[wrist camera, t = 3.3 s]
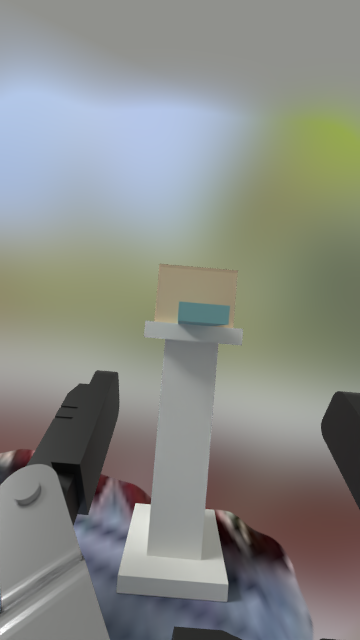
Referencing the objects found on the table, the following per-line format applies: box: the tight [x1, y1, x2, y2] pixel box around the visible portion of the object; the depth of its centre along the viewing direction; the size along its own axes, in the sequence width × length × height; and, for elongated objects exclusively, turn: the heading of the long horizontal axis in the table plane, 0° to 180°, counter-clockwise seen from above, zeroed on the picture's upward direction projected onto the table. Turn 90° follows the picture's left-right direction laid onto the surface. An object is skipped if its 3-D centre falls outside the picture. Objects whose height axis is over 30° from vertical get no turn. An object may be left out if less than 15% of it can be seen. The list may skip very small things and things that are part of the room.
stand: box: [116, 321, 243, 602], centre depth 39 cm, size 13×13×32 cm
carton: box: [154, 264, 238, 328], centre depth 33 cm, size 23×10×7 cm, turn 0°
